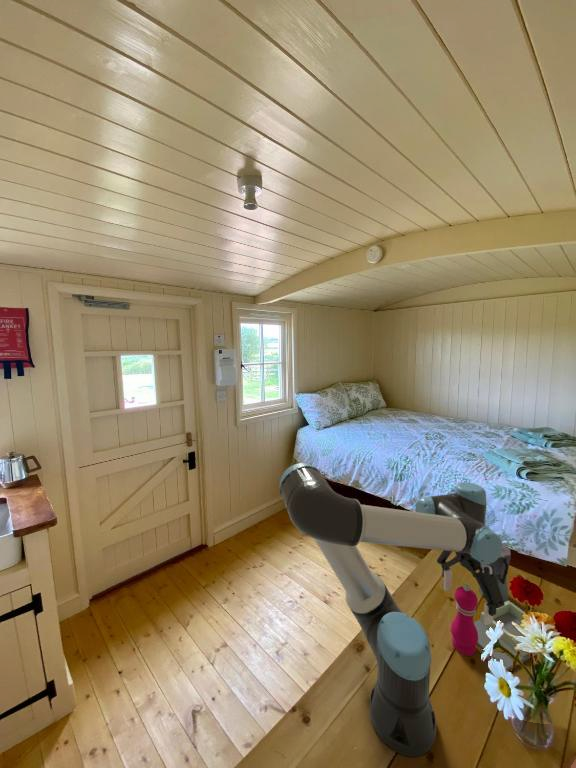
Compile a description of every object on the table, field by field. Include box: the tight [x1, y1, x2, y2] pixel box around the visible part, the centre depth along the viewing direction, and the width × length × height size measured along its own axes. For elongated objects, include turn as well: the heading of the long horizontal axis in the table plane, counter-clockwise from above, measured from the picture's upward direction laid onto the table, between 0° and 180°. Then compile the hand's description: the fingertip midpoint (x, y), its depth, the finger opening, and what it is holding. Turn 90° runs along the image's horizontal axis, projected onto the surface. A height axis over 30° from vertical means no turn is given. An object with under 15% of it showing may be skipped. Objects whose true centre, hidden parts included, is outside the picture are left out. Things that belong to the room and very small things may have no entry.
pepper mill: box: [450, 583, 479, 657], centre depth 96 cm, size 7×7×20 cm
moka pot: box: [478, 545, 512, 602], centre depth 115 cm, size 10×15×20 cm, turn 174°
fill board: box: [473, 599, 530, 671], centre depth 99 cm, size 20×14×4 cm
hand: (466, 604), depth 95 cm, fingers open, 13 cm apart
